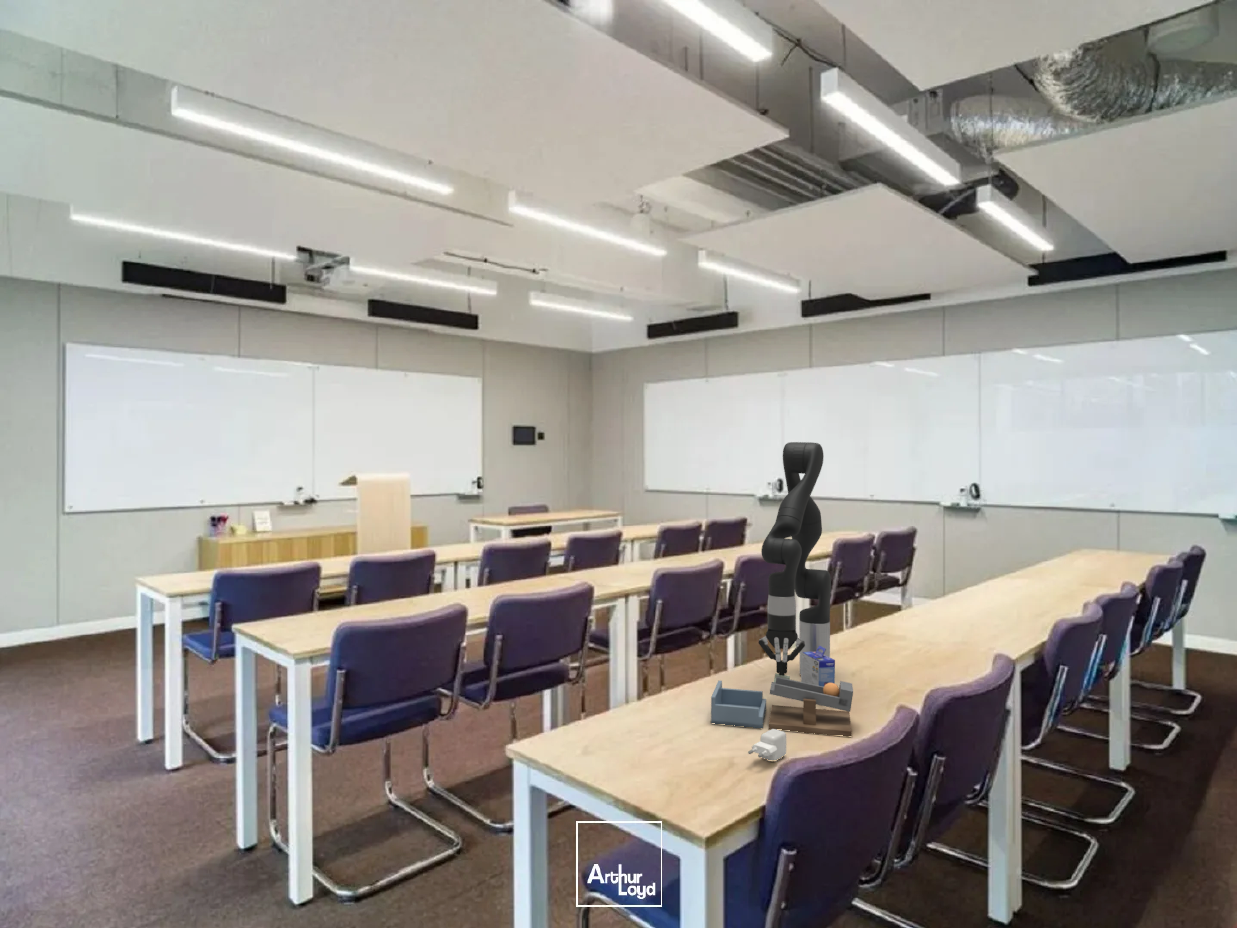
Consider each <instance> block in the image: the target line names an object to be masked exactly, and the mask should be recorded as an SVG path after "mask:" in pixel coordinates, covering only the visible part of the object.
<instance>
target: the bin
mask: <svg viewBox="0 0 1237 928" xmlns="http://www.w3.org/2000/svg"><path fill="white" fill-rule="evenodd" d="M763 695H764V694H763V691H762V690H751V689H739V688H738V689H737V688H728V687H723V680H717V682H716V686H715V688H714V690H713V692H712V695H711V697H710V703H711V704H710V711H711V713H710V715H711V716H710V717H711V719H710V720H711V721H710V723H715V724H725V725H733V726H732V727H736V726H744V727H743V728H746V727H753V728H752V729H757V728H764V724H763V723H765V718H766V714H767V698H764V697H763ZM715 724H714V725H715ZM725 725H724V726H725ZM734 725H735V726H734Z"/></svg>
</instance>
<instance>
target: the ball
mask: <svg viewBox="0 0 1237 928" xmlns="http://www.w3.org/2000/svg"><path fill="white" fill-rule="evenodd" d="M823 693H824V694H826V695H831V696H836V697H838V695H839V685H838V684H836V683H835V684H834V683H827V684H826V685H825V686H824V688H823Z"/></svg>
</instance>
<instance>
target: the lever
mask: <svg viewBox="0 0 1237 928" xmlns="http://www.w3.org/2000/svg"><path fill="white" fill-rule="evenodd" d="M823 688H824V687H823V686H818V685H813V684H809V683H804V682H801V681H798V680H794V679H791V676H790V675H787V674H785V675H784V676H781V675H779V673H777V672H776V673H775V674H774V679H773V681H771V684H770V688H769V695H771V696H776V697H780V698H786V699H789V700H790V699H791V700H794V701H800V702H803V699H815V700H816V706H822V707H825V708H831V709H835V710H838V711H848V712H849V713H850V712H851V710H852V704H853V703H852V702H853V695H854V687H853V683H852V682H847V681H842V680H839V685H838V688H839V695H838V697H836V696H831V695H826V694H824V693H823Z"/></svg>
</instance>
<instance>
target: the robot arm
mask: <svg viewBox="0 0 1237 928" xmlns="http://www.w3.org/2000/svg"><path fill="white" fill-rule="evenodd" d="M782 464H783V470H784V471H783V472H784V476H785V477H784V478H785V483H786V489H787V495H785V496H784V498H783V499H782V501H781V502H780V504H779V507H778V510H777V514H776V519H775V523H774V524H773V526H772V528H771V529H770V531H769V532H768V534H767V535H766V537H765V539H764V540H763V543H762V546H761V551H760V552H761V556H762V558H763V560H764V562H765V563H767V564H772V565H773V564H774V565H783V566H784V565H785V567H784V569H783V571H776V572H772V573H771V574H769V575H768V580H767V581H768V598H767V609H766V611H767V630H766V633H765V635H764V636H763V637H761V638H759V640H758V645H759V646H760V647H761V649H762V650H763V651H764V653H765V654H766V655H767V657H768V658H769V659H770V660H774V661H775V662H776V663H775V665H776V667H775V668H776V673H777V674H779V675H781V676H784V675H787V674H788V662H789V661H793V660H795V659H796V658H797V657H798V655H799V675H800V674H801V671H802V652H816V650H817V649H818V647H819V646H821V647H823V648H825V649H826V651H825V653H824V655H826V656H828V657H830V658H831V592H832V577H831V574H830V572H829V571H828V570H826V569H815V568H814V569H813V568H806V562H807V560H808V557H809V555H810V554H811V552H812V550H813V549H814V548H815V546H816V545H817V543H818V542H819V540H820V539H821V536H822V535H823V534H822V533H823V527H822V526H823V525H822V515H821V514H822V513H821V511H820V510H821V509H820V508H819V506H818V505H817V503H816V502H815V501H814V499H813V498H812V495H811V494H812V493H813V492H814V491H813V490H814V488H815V486H816V484H817V480H818V478H819V477H820V475H821V472H822V468H823V464H824V450H823V447H822V444H820V443H818V442H809V441H808V442H807V441H806V442H803V441H802V442H801V441H800V442H799V441H794V442H792V441H791V442H787V443H785V445H784V446H783V450H782ZM800 474H804V475H803V477H802V478H801V476H800ZM796 596H797V597H798V598H801V599H809V600H818V603H817V604H816V605H814V606H811V607H808V608H803V609H802V610H800V611H799V616H798V618H799V620H798V622H799V625H798V626H799V632H797V627H796V626H797V606H796V605H797V604H796ZM798 633H799V635H798ZM768 643H770V645H771V646H772V647H773V648H774V652H775V653H774V652H773V650H772V649H771V647H770V646H769V645H768ZM794 644H795V648H794V649H793V650H792V651H791V653H790V654H789V650H790V649H791V648H792V647H793V645H794ZM781 650H782V652H781ZM819 652H821V653H823V650H822V649H819Z"/></svg>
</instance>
